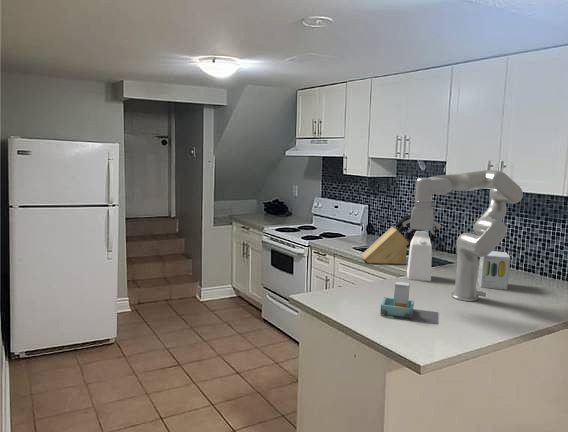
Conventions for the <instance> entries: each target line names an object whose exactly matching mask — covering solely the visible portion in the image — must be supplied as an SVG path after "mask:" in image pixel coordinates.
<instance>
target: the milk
mask: <svg viewBox="0 0 568 432" xmlns="http://www.w3.org/2000/svg"><path fill="white" fill-rule="evenodd" d="M430 242H431V237H430V236H429V233H428V231H424V230H422V231H418V230H417V231H416V233H415V235H414V237H413V238H412V240H411V243H410V248H409V252H408V261H407V262H408V263H407V268H406V269H407V270H406V276H407V280H409V281H410V280H411V281H422V282H423V281H425V282H432V262H433V260H432V257H433V256H432V255H433V254H432V253H433V245H432V243H430Z"/></svg>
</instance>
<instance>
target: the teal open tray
mask: <svg viewBox="0 0 568 432" xmlns="http://www.w3.org/2000/svg"><path fill="white" fill-rule="evenodd" d="M393 304H394V297H386V296H384V297H383V299H382V301H381V304H380V315H382V316H386V315H390V316H398V317H405V318H406V319H408V318H412V314H413V309H415V308H414V305H415V300H412V299H409V300H408V308H405V307H397V306H393Z"/></svg>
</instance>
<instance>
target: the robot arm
mask: <svg viewBox="0 0 568 432" xmlns="http://www.w3.org/2000/svg"><path fill="white" fill-rule="evenodd" d="M482 189H490V190H489V200H490V201H489V205H488V208H487V209H486V210H485V211H484V212H483V213H482V215H481V216H480V217H479V218H478V219H477V220H476V221H475V223H474V224H473V227H472V229H473V233H471V232H463V233H461V234H460V235H459V236H458V237H457V239H456V254H457V255H456V256H457V258H456V272H455V282H454V291H452V292H451V293H450V296H451V298H453V299H456V300H459V301H465V302H475V301H478V300H479V298H480V297H486V296H487V293H486V292H483V291H479V290H477V282H478V272H479V258H480V257H485V256H487V255H488V254H489V253H491V251H494V249H496V248H497V246H498V245H499V244H500V243H501V242H502V241H503V239H504V238H505V236H506V235H507V228H508V227H507V225H506V223H504V222H503V220H504V219H505V217H506V215H507V203H508V204H513V205H514V204H518V203H519V202H520V201H521V200H522V199H523V198H524V197H523V195H524V192H523V189H522V188H521V187H520V185H519V184H518V183H516V182H515V181H514V180H513V179H512V178H511V177H510V176H508V175H507V174H506V173H504V172H503V171H501V170H492V169H484V170H483V169H482V170H477V171H471V172H470V171H469V172H461V173H454V174H453V173H452V174H441V175H434V176H430V177H418V178H416V182H415V195H414V196H415V197H414V206H413V207H412V210H411V214H410V215H411V216H410V217H411V219H410V220H407V221H405V222H403V223H402V224H403V226H404V229H405V231H406V233H407V232H408V237H407V240H408V239H409V241H411V231H412V230H413V229H418V230H422V231H430V233H431V234H430V241H431V242H430V243H431V244H432V243H433V242H434V241H435V234H437V233H439V231H440V230H441V228H442V225H441V224H440V223H438V222H437V221H435V218H434V214H435V213H434V208H433V207H435V206H436V202H435V203H434V202H433V194H434V195H441V196H442V195H447V194H449V193H450V192H451V191H457V192H470V191H476V190H482ZM407 223H410V226H409V227H407V226H406V224H407ZM434 225H435V226H436V227H437V228H435V229H433V228H434ZM418 230H417V231H418ZM478 257H479V258H478Z"/></svg>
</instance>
